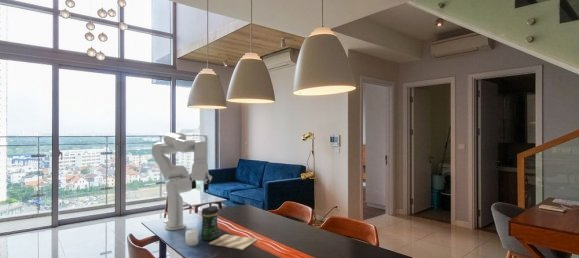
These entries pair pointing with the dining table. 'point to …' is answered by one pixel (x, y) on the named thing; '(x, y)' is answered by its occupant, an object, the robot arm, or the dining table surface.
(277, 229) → the dining table surface
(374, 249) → the dining table surface
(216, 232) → the coffee jar
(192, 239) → the white rounded block
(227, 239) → the beige striped cloth
